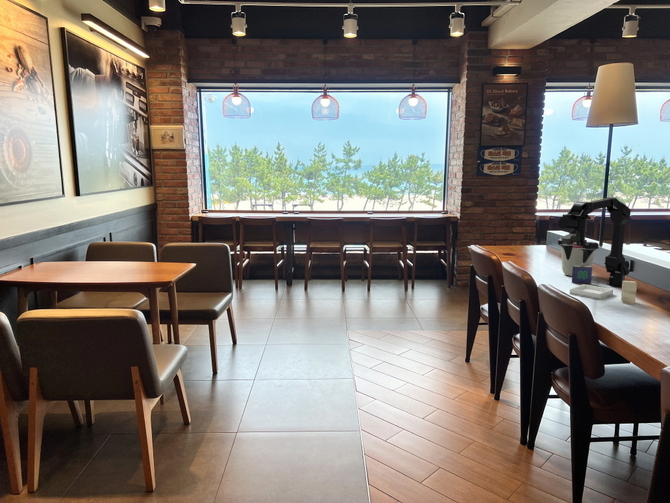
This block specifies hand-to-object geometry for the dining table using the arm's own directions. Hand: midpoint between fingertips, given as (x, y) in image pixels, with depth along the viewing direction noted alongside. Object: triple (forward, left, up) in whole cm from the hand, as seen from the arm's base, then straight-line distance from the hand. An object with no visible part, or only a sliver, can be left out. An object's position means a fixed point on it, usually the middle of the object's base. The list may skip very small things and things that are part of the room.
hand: (575, 261), depth 223 cm
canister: (-28, -28, -15) cm, 42 cm away
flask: (-16, -12, -15) cm, 25 cm away
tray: (-3, +7, -15) cm, 17 cm away
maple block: (-7, +23, -15) cm, 28 cm away
